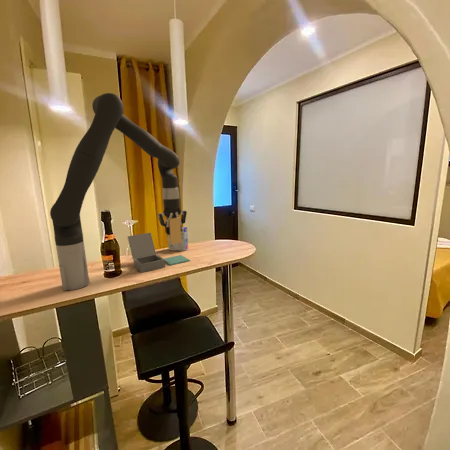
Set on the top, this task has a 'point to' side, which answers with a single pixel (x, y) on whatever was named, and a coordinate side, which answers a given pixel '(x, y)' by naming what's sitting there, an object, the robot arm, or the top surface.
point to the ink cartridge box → (180, 246)
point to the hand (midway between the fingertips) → (173, 233)
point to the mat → (176, 260)
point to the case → (149, 263)
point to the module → (174, 231)
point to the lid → (141, 245)
